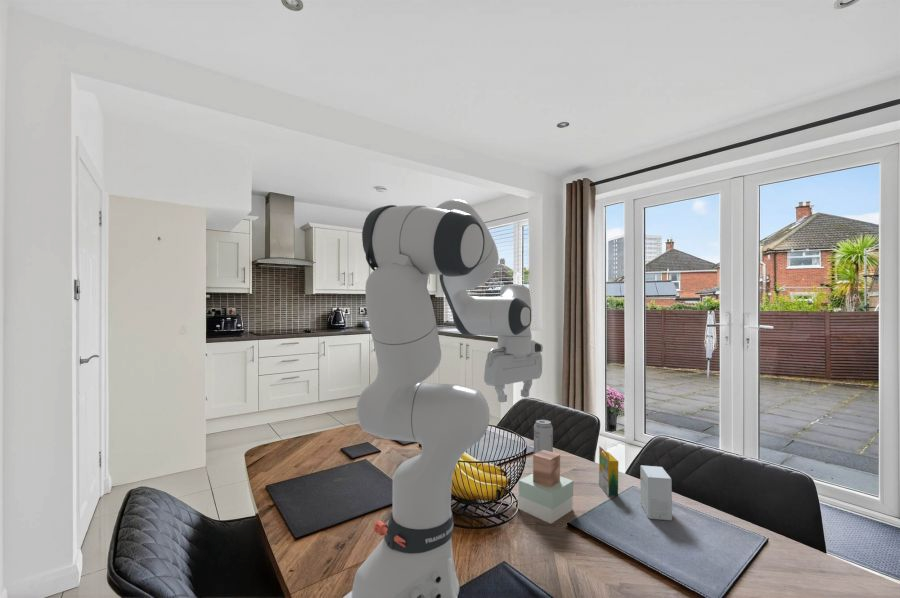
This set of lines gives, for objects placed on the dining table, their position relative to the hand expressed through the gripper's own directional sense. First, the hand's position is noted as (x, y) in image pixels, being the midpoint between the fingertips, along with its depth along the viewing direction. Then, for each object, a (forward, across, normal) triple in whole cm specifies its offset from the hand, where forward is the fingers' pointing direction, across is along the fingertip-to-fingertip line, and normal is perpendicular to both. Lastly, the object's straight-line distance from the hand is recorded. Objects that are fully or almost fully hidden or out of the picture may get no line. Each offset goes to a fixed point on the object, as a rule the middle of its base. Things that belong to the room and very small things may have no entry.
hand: (514, 399), depth 109 cm
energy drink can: (+28, +28, +10) cm, 41 cm away
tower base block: (+29, +6, -6) cm, 30 cm away
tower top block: (+25, +6, -6) cm, 26 cm away
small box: (+29, +26, -26) cm, 46 cm away
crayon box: (+28, +29, -12) cm, 42 cm away
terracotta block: (+21, +6, -6) cm, 23 cm away
